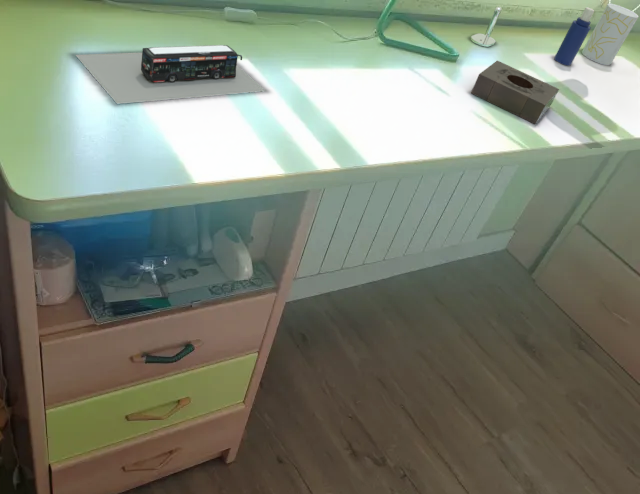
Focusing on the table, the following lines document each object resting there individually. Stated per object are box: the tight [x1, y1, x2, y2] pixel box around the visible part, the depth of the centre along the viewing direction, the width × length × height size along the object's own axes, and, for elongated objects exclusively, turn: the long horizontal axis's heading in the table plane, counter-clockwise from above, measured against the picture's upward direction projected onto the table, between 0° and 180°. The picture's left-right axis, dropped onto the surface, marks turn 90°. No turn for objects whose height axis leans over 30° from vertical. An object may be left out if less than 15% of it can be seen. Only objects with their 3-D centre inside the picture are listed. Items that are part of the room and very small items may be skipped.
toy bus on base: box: [75, 44, 267, 105], centre depth 93 cm, size 14×25×4 cm, turn 127°
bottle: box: [553, 6, 595, 66], centre depth 146 cm, size 4×4×12 cm
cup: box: [581, 3, 639, 66], centre depth 156 cm, size 8×8×12 cm
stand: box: [470, 6, 502, 48], centre depth 143 cm, size 8×5×8 cm
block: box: [470, 60, 560, 125], centre depth 121 cm, size 14×12×4 cm
